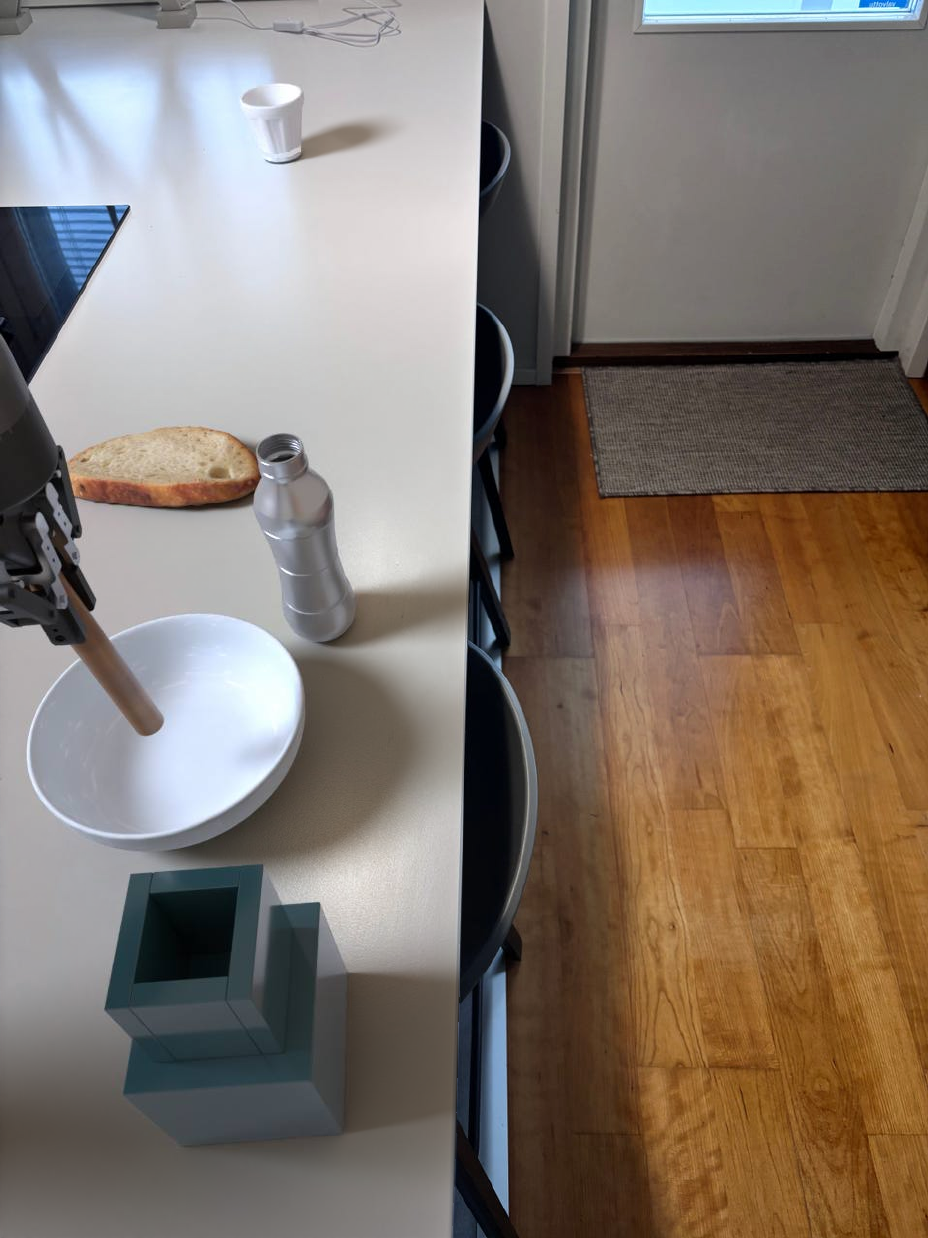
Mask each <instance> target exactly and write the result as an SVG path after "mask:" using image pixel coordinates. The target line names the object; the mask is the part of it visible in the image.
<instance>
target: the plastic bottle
mask: <svg viewBox="0 0 928 1238" xmlns="http://www.w3.org/2000/svg"><path fill="white" fill-rule="evenodd" d="M255 455H256V457H257V460H258V467H259V471H260V474H261V476H262V478H261V480H260V482H259V484H258V486H257V488H256V490H255V491H254V494H253V505H252V509H253V514H254V517H255V519H256V521H257V523H258V525H259V527H260V530H261V531H262V533H263V535H264V537H265V540H266V541H267V543H268V545H269V547H270V550H271V553H272V556H273V558H274V560H275V564H276V567H277V570H278V575H279V582H280V586H281V604H282V605H281V607H282V613H283V616H284V618H285V620H286V622H287V624H288V625H289V627H290V629H291V630H292V631H293V632H294V633H295V634H296V635H297V636H299V637H300V638H303V639H305V640H307V641H311V642H315V643H323V642H324V643H325V642H328V641H329V642H330V641H333V640H336V639H337V638H339V637H340V636H342V635H343V634H344V633H346V631H347V630H349V628H350V626H351V625H352V624H353V622H354V620H355V616H356V609H357V608H356V606H357V605H356V603H357V602H356V601H357V600H356V595H355V592H354V589H353V587H352V584H351V582H350V581H349V579H348V576H347V575H346V573H345V570H344V567H343V563H342V561H341V558H340V555H339V548H338V543H337V542H338V541H337V536H336V525H335V524H336V523H335V520H336V519H335V500H334V493H333V491H332V489H331V487H330V486H329V484H328V483H327V481H326V479H325V478H324V477H323V476H322V475H321V474H320V473H318V472H317V471H316V470H314V469H313V468H312V467H310V462H309V461H310V460H309V457H308V454H307V453H306V451H305V446H304V443H303V441H302V438H300V437H299V436H297V435H295V434H293V433H287V432H278V433H274V434H273V433H272V434H271V435H268V436H266V437H265V438H263V439H262V440H260V441H259V443H258V444H257V445H256V450H255Z"/></svg>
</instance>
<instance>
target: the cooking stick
mask: <svg viewBox="0 0 928 1238" xmlns="http://www.w3.org/2000/svg"><path fill="white" fill-rule="evenodd" d="M58 577H59V579H60V581H61V583H62V585H63V587H64V589H65V591H66V594H67V597H70V599H71V601H72V603H73V605H74V606H75V608H76V610H77V612H78V614H79V615H80V617H81V619H82V621H83V623H84V624H85V626H86V628H87V630H88V635H87V639H86V642H85V643H83V644H74V645H70V647H71V648H72V650H74V652H75V653H76V655H77V656H78V657H79V658H81V660H82V661H83V662H84V664H85V665H86V666H87V668H88V669H89V670H90V672H91V673H92V674H93V676H94V677H95V678H96V679H97V681H98V682H99V683H100V685H101V686H102V687H103V689H104V690H105V691H106V693H107V694H108V695H109V697H110V698H111V699H112V700H113V702H114V703H115V704H116V706H117V707H118V708H119V710H120V711H121V712H122V714H123V715H124V716H125V718H126V719H127V720H128V722H129V723H130V724H131V725H132V727H133V728H134V729H135V731H136V732H137V733H138V734H139V735H141V736H150V735H153V734H155V733H156V732H158V731H159V730H160V729H161V727H162V726H163V723H164V717H163V715H162V713H161V712H160V711H159V709H158V708H157V706H156V705H155V704H154V702H153V701H152V699H151V698H150V696H149V695H148V694H147V692H146V691H145V689H144V688H143V687H142V685H141V684H140V682H139V681H138V679H137V678H136V677H135V675H134V674H133V672H132V671H131V670H130V668H129V667H128V665H127V664H126V663H125V661H124V660H123V658H122V657H121V655H120V654H119V653H118V651H117V650H116V648H115V647H114V646H113V644H112V643H111V641H110V640H109V638H110V637H108V635H107V634H106V633H105V631H104V630H103V629H102V627H101V626H100V624H99V622H98V621H97V620H96V618H95V617H94V616H93V614H92V613H91V612H89V610H88V609H87V607H86V606H85V604H84V603H83V602H82V600H81V599H80V597H79V596H78V595H77V593H76V592H75V590H74V589H73V587H72V586H71V585H70V583H69V582H68V580H67V579H66V578H65V576H64V575H63V573H62V572H61V570H60V572H59V574H58ZM29 586H30V588H31V590H32V591H39V590H45V588H44V587H43V586H42V585H40V584H33V585H29Z"/></svg>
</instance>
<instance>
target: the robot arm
mask: <svg viewBox="0 0 928 1238" xmlns="http://www.w3.org/2000/svg"><path fill="white" fill-rule="evenodd" d="M20 369H21V368H19V365H18V362H17V361H16V359H15V357H14V355H13V353H12V351H11V350H10V347H9V346H8V344H7V342H6V340H5V338H4V337H3V335H2V334H1V333H0V623H2V624H3V625H5V626H7V627H10V628H14V629H15V628H22V627H27V626H40V627H41V628H42V630H43V632H44V633H45V635H46V637H47V638H48V640H49V642H50V644H52V645H53V646H55V647H56V646H57V647H58V646H59V647H60V646H61V647H62V646H71V645H74V644H83V643H85V642H86V639H87V635H88V630H87V628H86V626H85V624H84V623H83V621H82V619H81V617H80V615H79V614H78V612H77V610H76V608H75V606H74V605H73V603H72V601H71V599H70V597H67V594H66V591H65V589H64V587H63V585H62V583H61V581H60V579H59V577H58V574H59V572H60V570H61V572H62V573H63V575H64V576H65V578H66V579H67V580H68V582H69V583H70V585H71V586H72V587H73V589H74V590H75V592H76V593H77V595H78V596H79V597H80V599H81V600H82V602H83V603H84V604H85V606H86V607H87V609H88V610H89V612H90V613H91V612H93V611H94V610H95V607H96V604H97V598H96V595H95V593H94V592H93V590H92V588H91V585H90V584H89V583H88V580H87V578H86V577H85V575H84V573H83V571H82V569H81V567H80V562H81V554H80V550H79V548H78V546H77V545H76V543H75V539H81V538H82V535H83V527H82V524H81V523H82V522H81V518H80V514H79V509H78V505H77V501H76V498H75V496H74V492H73V488H72V484H71V480H70V475H69V471H68V467H67V459H66V454H65V450H64V448H63V447H62V445H61V444H56V442H55V439H54V436H53V435H52V434H51V431H50V429H49V427H48V425H47V422H46V421H45V419H44V417H43V414H42V413H41V410H40V408H39V406H38V404H37V402H36V400H35V398H34V396H33V393H32V392H31V390H30V388H29V386H28V384H27V381H26V380H25V378H24V376H23V374H22V371H21V370H20ZM33 584H40V585H42V586H43V587H44V588H45V590H39V591H32V590H31V588H30V586H29V585H33Z"/></svg>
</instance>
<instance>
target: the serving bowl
mask: <svg viewBox="0 0 928 1238" xmlns="http://www.w3.org/2000/svg"><path fill="white" fill-rule="evenodd" d="M108 638H109V640H110V641H111V643H112V644H113V646H114V647H115V648H116V650H117V651H118V653H119V654H120V655H121V657H122V658H123V660H124V661H125V663H126V664H127V665H128V667H129V668H130V670H131V671H132V672H133V674H134V675H135V677H136V678H137V679H138V681H139V682H140V684H141V685H142V687H143V688H144V689H145V691H146V692H147V694H148V695H149V696H150V698H151V699H152V701H153V702H154V704H155V705H156V706H157V708H158V709H159V711H160V712H161V713H162V715H163V717H164V723H163V726H162V727H161V729H160V730H159V731H158V732H156V733H155V734H153V735H150V736H141V735H139V734H138V733H137V732H136V731H135V729H134V728H133V727H132V725H131V724H130V723H129V722H128V720H127V719H126V718H125V716H124V715H123V714H122V712H121V711H120V710H119V708H118V707H117V706H116V704H115V703H114V702H113V700H112V699H111V698H110V697H109V695H108V694H107V693H106V691H105V690H104V689H103V687H102V686H101V685H100V683H99V682H98V681H97V679H96V678H95V677H94V676H93V674H92V673H91V672H90V670H89V669H88V668H87V666H86V665H85V664H84V662H83V661H82V660H81V658H80V657H79V658H77V659H76V660H75V661H74V662H73V663H72V664H71V665H69V667H67V668H66V670H64V671H63V673H61V674H60V675H59V677H58V678H57V679H56V680H55V682H54V683H53V684H52V685H51V687H50V688H49V689H48V691H47V692H46V693H45V696H44V697H43V698H42V700H41V702H40V704H39V705H38V707H37V709H36V712H35V714H34V717H33V719H32V722H31V725H30V727H29V731H28V737H27V743H26V765H27V772H28V776H29V779H30V782H31V785H32V787H33V789H34V790H35V793H36V795H37V797H38V798H39V800H40V801H41V803H42V804H43V805H44V807H46V809H47V810H48V811H49V812H50V813H51V814H52V815H53V816H54V817H55V818H56V819H58V820H59V821H60V822H61V823H62V824H64V825H65V826H66V827H67V828H70V829H71V830H72V831H74V832H75V833H77V834H78V835H80V836H82V837H84V838H86V839H88V840H90V841H92V842H95V843H97V844H100V845H103V846H106V847H110V848H113V849H118V850H122V851H129V852H140V853H141V852H142V853H143V852H145V853H147V852H148V853H150V852H151V853H153V852H154V853H155V852H165V851H172V850H179V849H182V848H186V847H190V846H194V845H197V844H200V843H203V842H206V841H208V840H210V839H213V838H215V837H217V836H219V835H222V834H224V833H225V832H227V831H229V830H231V829H233V828H234V827H236V826H237V825H239V823H241V822H243V821H245V820H246V819H247V818H248V817H250V816H251V815H252V814H253V813H255V812H256V811H257V810H258V809H260V807H261V806H262V805H264V803H266V801H268V799H269V798H270V797H271V796H272V795H273V794H274V792H275V791H276V790H277V789H278V788H279V786H280V785H281V783H282V782H283V781H284V780H285V777H286V776H287V775H288V773H289V771H290V769H291V768H292V766H293V763H294V761H295V759H296V756H297V754H298V752H299V749H300V746H301V742H302V739H303V734H304V730H305V723H306V722H305V721H306V696H305V686H304V681H303V677H302V674H301V671H300V669H299V666H298V664H297V661H296V660H295V658H294V657H293V655H292V653H291V652H290V650H289V649H288V648H287V646H285V644H284V643H283V642H282V641H281V640H279V638H277V637H276V636H275V635H273V633H271V632H270V631H268V630H267V629H265V628H264V627H261V626H259V625H257V624H256V623H253V622H251V621H248V620H246V619H243V618H239V617H235V616H230V615H224V614H218V613H203V612H202V613H200V612H199V613H185V614H176V615H170V616H165V617H160V618H156V619H153V620H149V621H146V622H142V623H140V624H136V625H134V626H132V627H129V628H126V629H125V630H122V631H119V632H118V633H116V634H114V635H112V636H109V637H108Z"/></svg>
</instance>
